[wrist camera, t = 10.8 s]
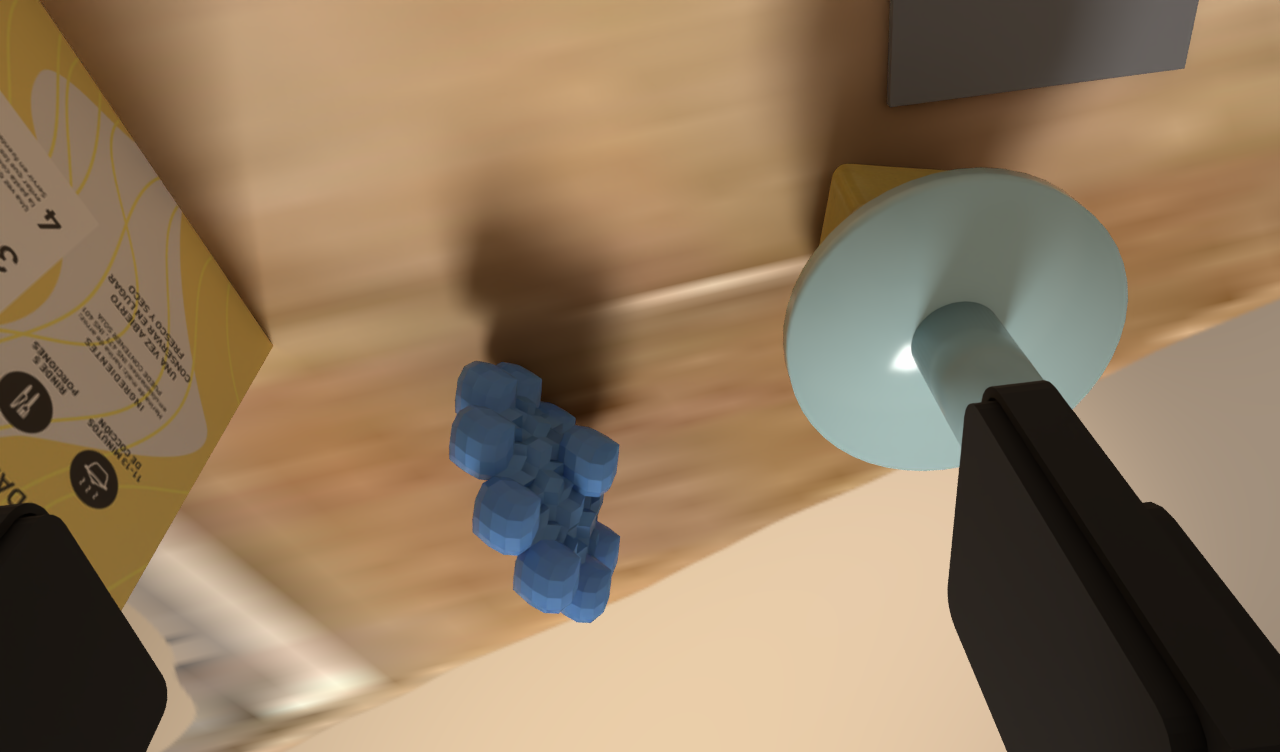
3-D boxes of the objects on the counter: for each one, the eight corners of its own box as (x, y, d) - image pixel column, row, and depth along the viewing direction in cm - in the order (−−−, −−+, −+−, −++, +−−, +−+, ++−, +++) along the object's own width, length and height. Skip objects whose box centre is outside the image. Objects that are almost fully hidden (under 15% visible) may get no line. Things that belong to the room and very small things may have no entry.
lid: (776, 192, 30) (813, 278, 25) (1139, 145, 30) (1253, 222, 25) (787, 467, 37) (818, 580, 32) (1084, 432, 36) (1164, 541, 31)
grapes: (675, 450, 47) (695, 630, 37) (567, 502, 49) (559, 688, 39) (552, 282, 42) (536, 441, 32) (434, 348, 43) (385, 518, 33)
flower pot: (772, 304, 43) (808, 415, 35) (803, 122, 38) (854, 206, 31) (952, 312, 43) (1026, 423, 36) (1005, 134, 39) (1103, 220, 31)
